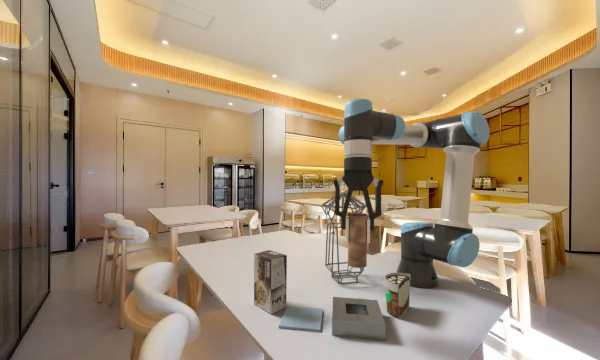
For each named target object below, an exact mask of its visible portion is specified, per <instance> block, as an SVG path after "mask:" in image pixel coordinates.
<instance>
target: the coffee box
mask: <svg viewBox="0 0 600 360" xmlns="http://www.w3.org/2000/svg"><path fill="white" fill-rule="evenodd" d="M287 259H288V255H287V254H284V253H281V252H277V251H273V250H270V249H269V250H264V251H260V252H256V253H254V254H253V304H254V306H256V307H258V308H260V309H262V310H263V311H265V312H266V313H269V314H270V315H272V314H275V313H277V312H279V311H282V310H284V309H286V307H287V280H288V279H287V274H288V273H287V271H288V269H287V267H288V266H287V264H288V263H287V261H288V260H287Z"/></svg>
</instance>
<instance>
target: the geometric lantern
mask: <svg viewBox="0 0 600 360" xmlns="http://www.w3.org/2000/svg"><path fill="white" fill-rule="evenodd" d="M346 195H347V192H345V191H342V192H341V191H340V200H341V205H340V206H339V209H341V210H339V211H340V212H342V210H343V207H344V203H345V199H346ZM352 206H353V207H352ZM320 207H321V209H322V211H323V212H324V214H325V217H326V219H328V218H329V220H330V222H328V220H326V241H325V261H324V267H326V269H328V271H329V272H330V273H331V279H333V280H335V282H336V283H337V284H338V285H345V284H355V283H356V284H357V283H358V282H359V279H358V276H360V275H361V274H362V273H363V272H364V271H365V267H364V268H359V271H352V269H353V268H354V267H351V268H350V269H349V267H350V266H349V265H348V261H344V262H340V258H339V257H340V256H339V255H340V253H339V230H338V229H340V228H341V226H339V225H340V224H341V219H340V220H339V221H338V222H333V221H334V217H335V216H336V215H335V195H334V196H333V197H331V198H330V199H328V200H326V201H325V202H323V203H322V204H321V205H320ZM348 209H350V210H351V213H363V211H364V210H365V209H367V207H366V203H364V202H362V201H361V200H360V199H357V198H356V197H354V196H353V195H352V196H351V199H350V203H349V207H348ZM354 210H355V211H354ZM330 211H332V212H334V213H333V216H332V217H331V215H330ZM353 211H354V212H353ZM346 217H348V214H346ZM341 229H342V228H341ZM335 230H336V233H335ZM331 231H332V233H331ZM331 234H332V235H331ZM335 234H336V254H337V255H336V257H337V262H334V245H335V244H334V243H335V242H334V241H335V240H334V239H335ZM331 236H332V238H331ZM331 239H332V241H331ZM330 251H331V255H330ZM330 256H331V263H330ZM342 264H343V265H345V264H347V269H342V270H340V265H342ZM334 265H337V270H334V269H333V268H334ZM351 274H353V275H351ZM349 275H350V276H349ZM335 277H336V278H337V279H338V280H337V279H336V278H335ZM348 278H349V279H350V278H353V280H355V281H349V282H348V281H347V282H343V279H348Z"/></svg>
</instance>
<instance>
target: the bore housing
mask: <svg viewBox="0 0 600 360" xmlns="http://www.w3.org/2000/svg"><path fill="white" fill-rule="evenodd" d="M331 313H332V314H331V318H332V319H331V336H335V337H337V336H338V337H347V338H354V339H355V338H356V339H364V340H365V339H366V340H377V341H378V340H379V341H386V322H385V318H384V315H383V313H382V310H381V307H380V304H379V301H378V300H377V299H369V298H368V299H367V298H366V299H365V298H355V297H354V298H353V297H341V296H340V297H339V296H333V297H332V312H331Z"/></svg>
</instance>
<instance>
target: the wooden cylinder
mask: <svg viewBox="0 0 600 360" xmlns="http://www.w3.org/2000/svg"><path fill="white" fill-rule="evenodd" d="M347 215H348V216H347V217H348V218H349V240H348V242H347V262H348V263H347V266H348V265H349V267H351V268H352V267H353V268H356V269H360V268H364V269H365V268H366V267H367V265H368V263H367V259H368V258H367V256H368V253H367V252H368V249H367V247H368V243H367V218H368V213H364V212H362V213H360V212H359V213H354V212H353V213H352V212H347Z"/></svg>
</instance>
